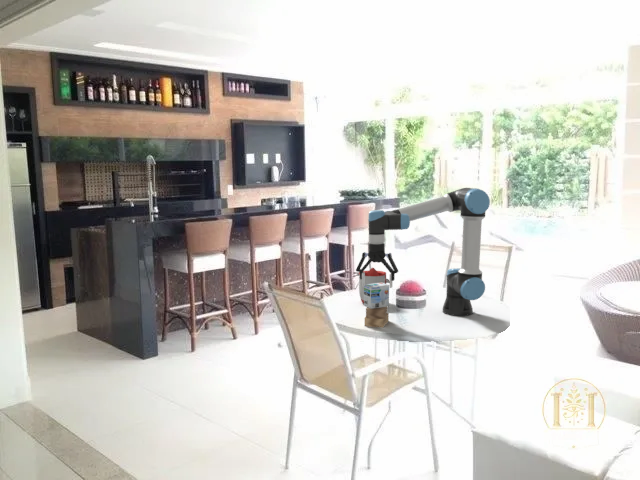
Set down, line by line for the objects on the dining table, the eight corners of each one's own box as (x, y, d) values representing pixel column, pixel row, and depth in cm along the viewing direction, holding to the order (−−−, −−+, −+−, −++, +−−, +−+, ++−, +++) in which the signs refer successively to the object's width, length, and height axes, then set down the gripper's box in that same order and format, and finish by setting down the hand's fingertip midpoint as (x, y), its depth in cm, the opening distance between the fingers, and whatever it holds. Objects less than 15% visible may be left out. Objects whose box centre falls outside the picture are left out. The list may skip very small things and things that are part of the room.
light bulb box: (370, 309, 277) (370, 286, 276) (363, 306, 283) (363, 284, 282) (389, 306, 282) (389, 284, 281) (381, 303, 288) (382, 282, 287)
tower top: (387, 312, 288) (387, 303, 288) (384, 319, 277) (385, 309, 276) (368, 311, 290) (369, 303, 289) (366, 318, 278) (366, 308, 278)
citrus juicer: (389, 307, 315) (389, 270, 313) (357, 305, 318) (357, 269, 316) (390, 300, 331) (390, 265, 328) (359, 299, 333) (359, 264, 331)
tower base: (388, 322, 288) (388, 313, 287) (383, 328, 277) (383, 319, 276) (370, 320, 291) (370, 311, 290) (364, 327, 280) (364, 317, 279)
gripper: (404, 242, 278) (404, 286, 280) (353, 241, 286) (354, 283, 289) (401, 244, 271) (401, 289, 273) (349, 243, 279) (349, 286, 282)
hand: (377, 286), depth 281 cm, fingers open, 13 cm apart
